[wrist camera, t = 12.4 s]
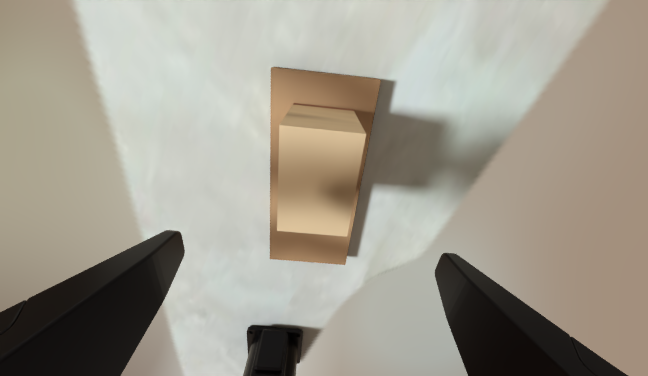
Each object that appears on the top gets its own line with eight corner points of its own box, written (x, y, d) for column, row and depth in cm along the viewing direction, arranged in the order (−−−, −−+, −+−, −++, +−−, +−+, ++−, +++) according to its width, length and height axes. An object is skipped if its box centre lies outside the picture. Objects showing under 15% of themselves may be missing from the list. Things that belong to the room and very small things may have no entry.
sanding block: (340, 187, 20) (347, 236, 14) (289, 183, 20) (276, 230, 14) (353, 109, 17) (366, 134, 12) (293, 102, 17) (279, 124, 11)
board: (344, 255, 25) (345, 264, 23) (272, 250, 24) (269, 258, 23) (377, 78, 17) (380, 80, 16) (274, 66, 17) (270, 67, 16)
